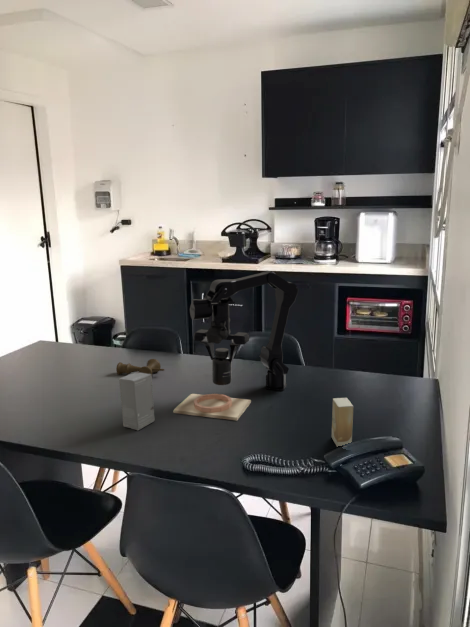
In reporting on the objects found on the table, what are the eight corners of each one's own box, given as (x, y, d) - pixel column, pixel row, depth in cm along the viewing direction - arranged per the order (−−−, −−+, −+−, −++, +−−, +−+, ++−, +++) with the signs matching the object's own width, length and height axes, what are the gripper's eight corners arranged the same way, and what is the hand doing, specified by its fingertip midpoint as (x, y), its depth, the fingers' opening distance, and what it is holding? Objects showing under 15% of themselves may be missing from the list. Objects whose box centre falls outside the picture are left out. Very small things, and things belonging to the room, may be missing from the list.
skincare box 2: (331, 437, 146) (331, 397, 144) (345, 436, 147) (346, 396, 144) (337, 447, 140) (338, 406, 137) (352, 446, 140) (353, 405, 138)
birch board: (250, 402, 173) (250, 399, 172) (237, 420, 159) (237, 417, 159) (191, 396, 179) (191, 393, 179) (173, 412, 166) (173, 410, 165)
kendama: (124, 371, 210) (169, 372, 205) (113, 379, 201) (160, 381, 196) (122, 357, 208) (168, 358, 204) (111, 365, 199) (159, 366, 195)
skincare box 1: (138, 431, 153) (134, 382, 149) (120, 426, 156) (117, 378, 153) (156, 421, 160) (153, 373, 156) (139, 416, 163) (136, 370, 160)
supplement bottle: (229, 386, 174) (228, 353, 171) (210, 385, 175) (209, 351, 173) (233, 379, 180) (233, 347, 178) (215, 378, 182) (214, 346, 179)
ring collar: (236, 399, 173) (236, 395, 172) (224, 414, 161) (223, 409, 161) (202, 396, 177) (202, 392, 176) (188, 410, 165) (188, 405, 165)
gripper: (186, 320, 168) (187, 365, 172) (238, 324, 162) (239, 370, 166) (199, 313, 179) (200, 355, 182) (249, 316, 172) (249, 360, 176)
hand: (221, 360), depth 176 cm, fingers closed on supplement bottle, 7 cm apart
